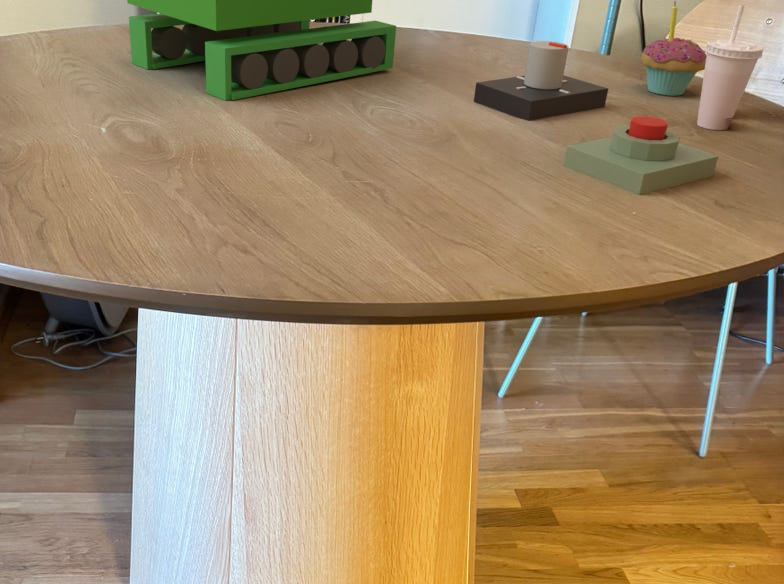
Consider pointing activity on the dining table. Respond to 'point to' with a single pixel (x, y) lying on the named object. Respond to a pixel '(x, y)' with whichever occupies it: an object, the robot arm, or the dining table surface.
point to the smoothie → (726, 78)
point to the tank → (260, 42)
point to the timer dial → (546, 64)
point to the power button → (648, 128)
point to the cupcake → (672, 62)
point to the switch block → (640, 161)
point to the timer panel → (539, 97)
